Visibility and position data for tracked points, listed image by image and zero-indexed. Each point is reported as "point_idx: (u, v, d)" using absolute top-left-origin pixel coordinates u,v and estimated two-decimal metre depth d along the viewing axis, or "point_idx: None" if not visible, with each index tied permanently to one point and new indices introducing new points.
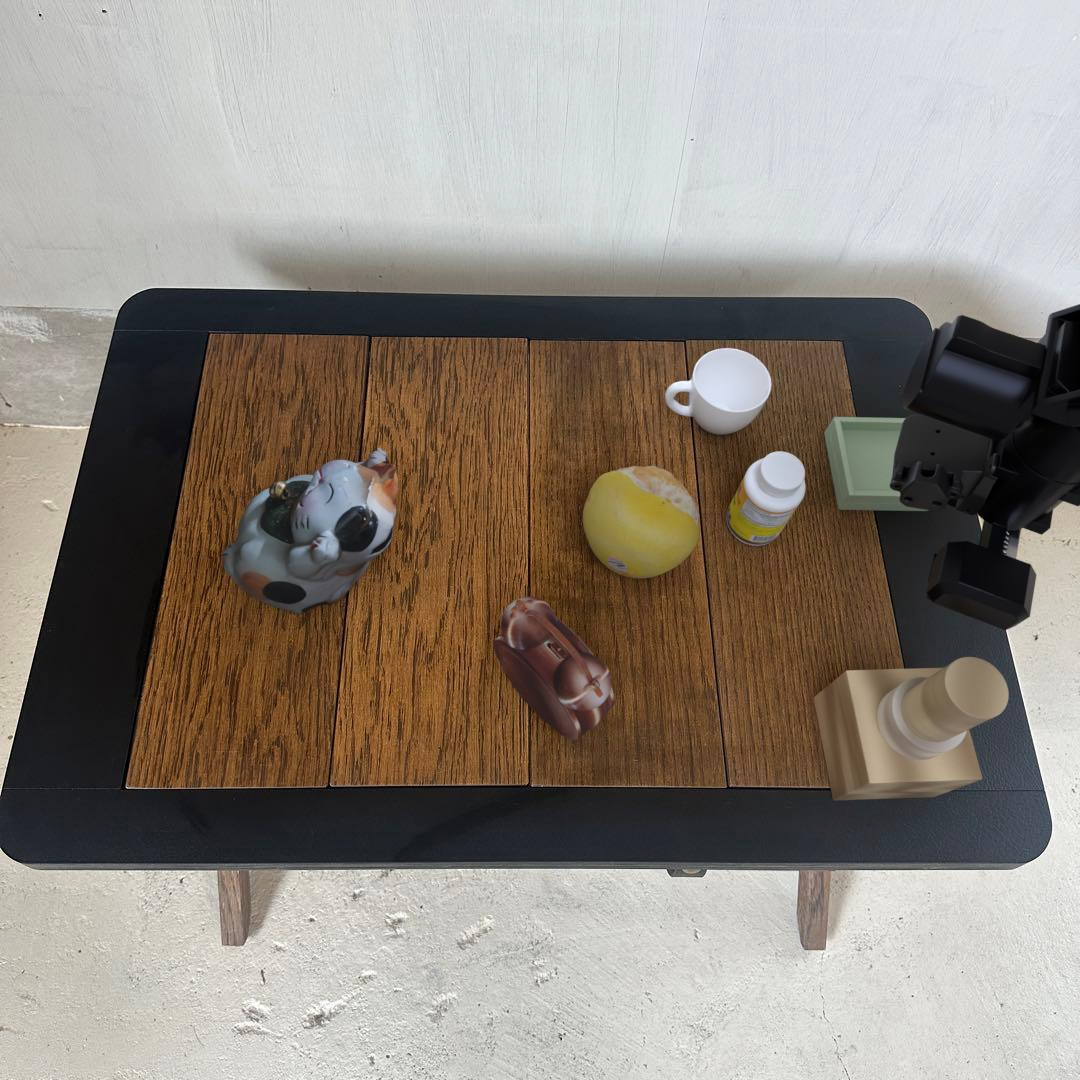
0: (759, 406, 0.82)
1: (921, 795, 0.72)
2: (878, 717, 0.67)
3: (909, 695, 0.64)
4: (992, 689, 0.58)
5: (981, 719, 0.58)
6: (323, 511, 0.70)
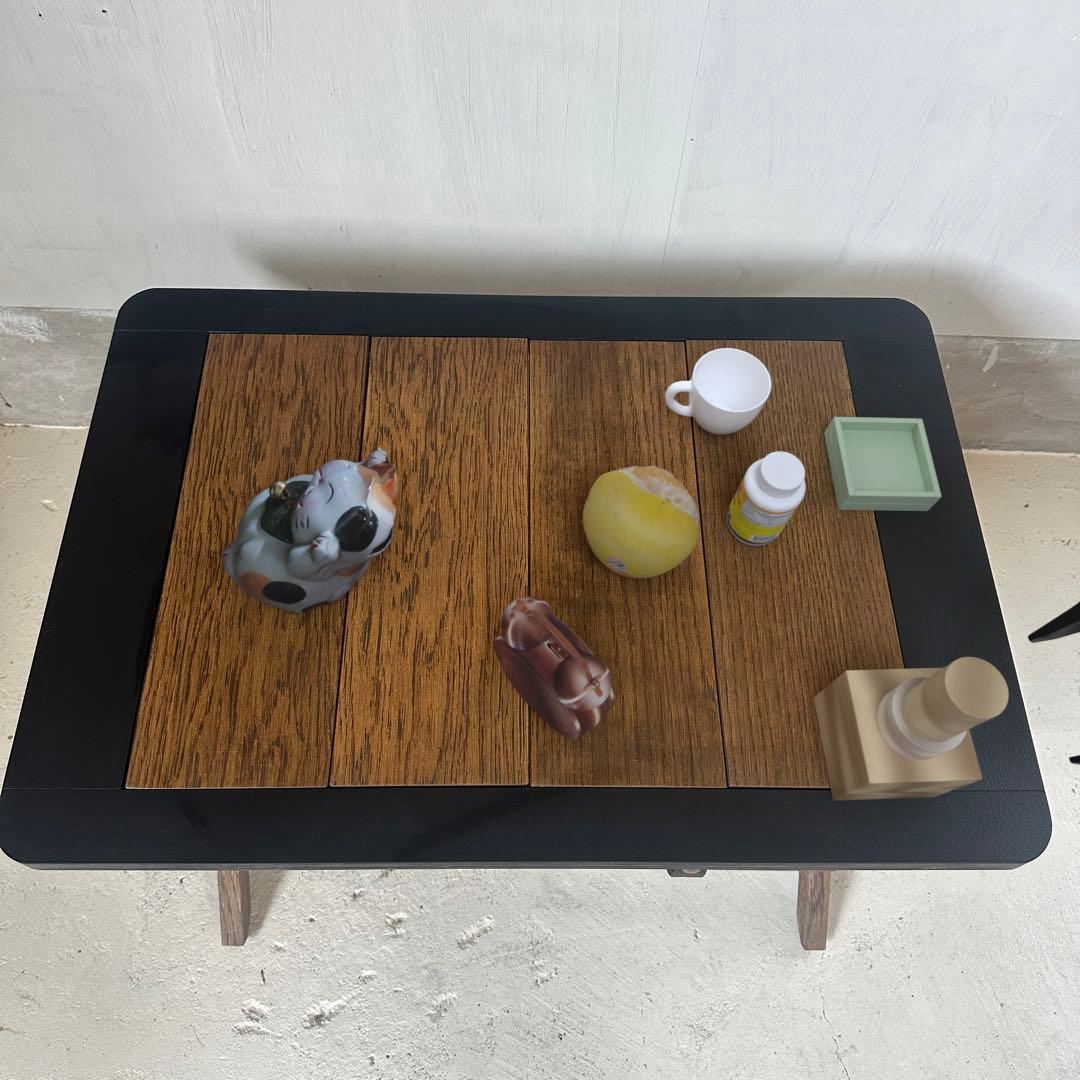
0: (759, 406, 0.82)
1: (921, 795, 0.72)
2: (878, 717, 0.67)
3: (909, 695, 0.64)
4: (992, 689, 0.58)
5: (981, 719, 0.58)
6: (322, 511, 0.70)
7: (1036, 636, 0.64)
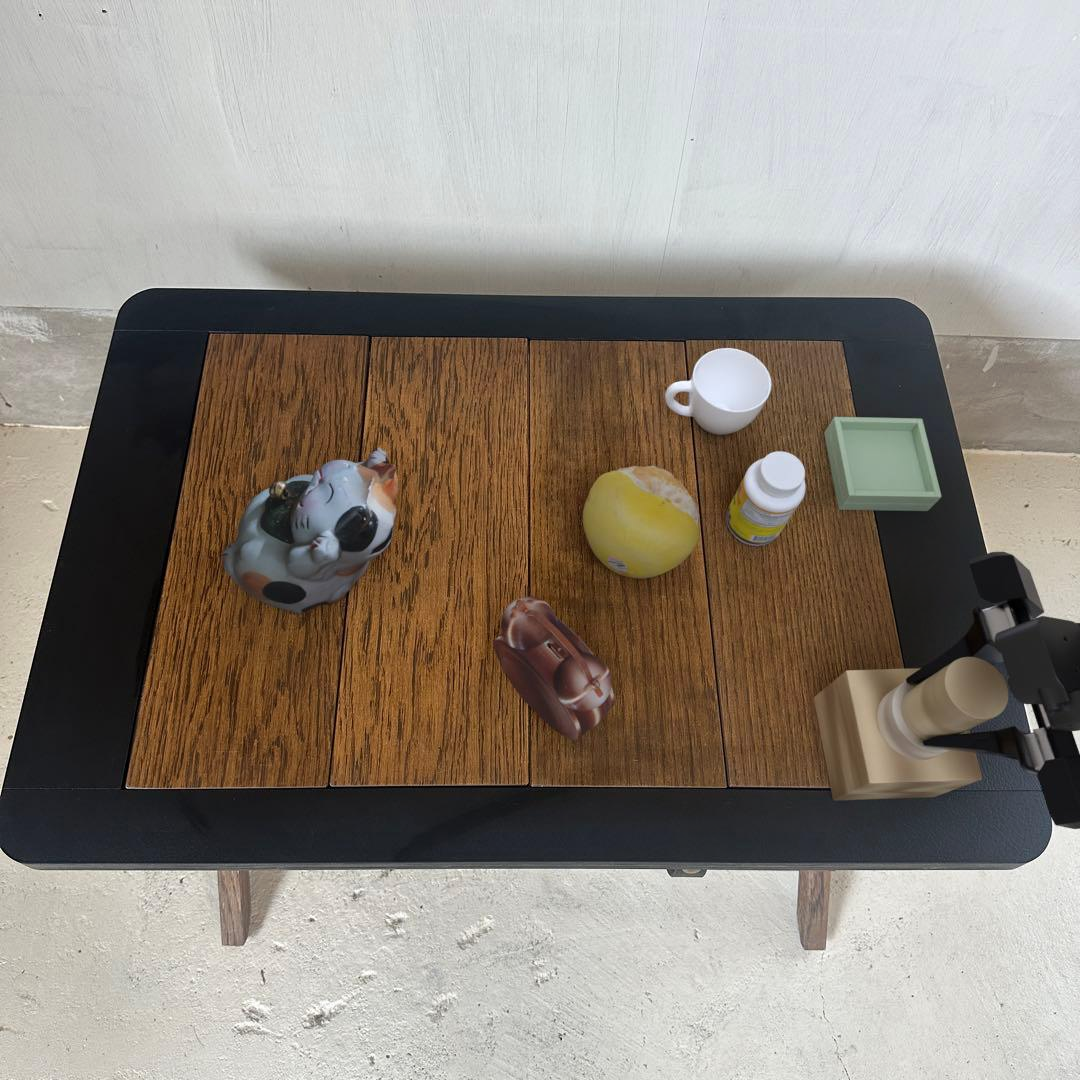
0: (759, 406, 0.82)
1: (921, 795, 0.72)
2: (878, 717, 0.67)
3: (909, 695, 0.64)
4: (992, 689, 0.58)
5: (981, 719, 0.58)
6: (322, 511, 0.70)
7: (913, 679, 0.64)
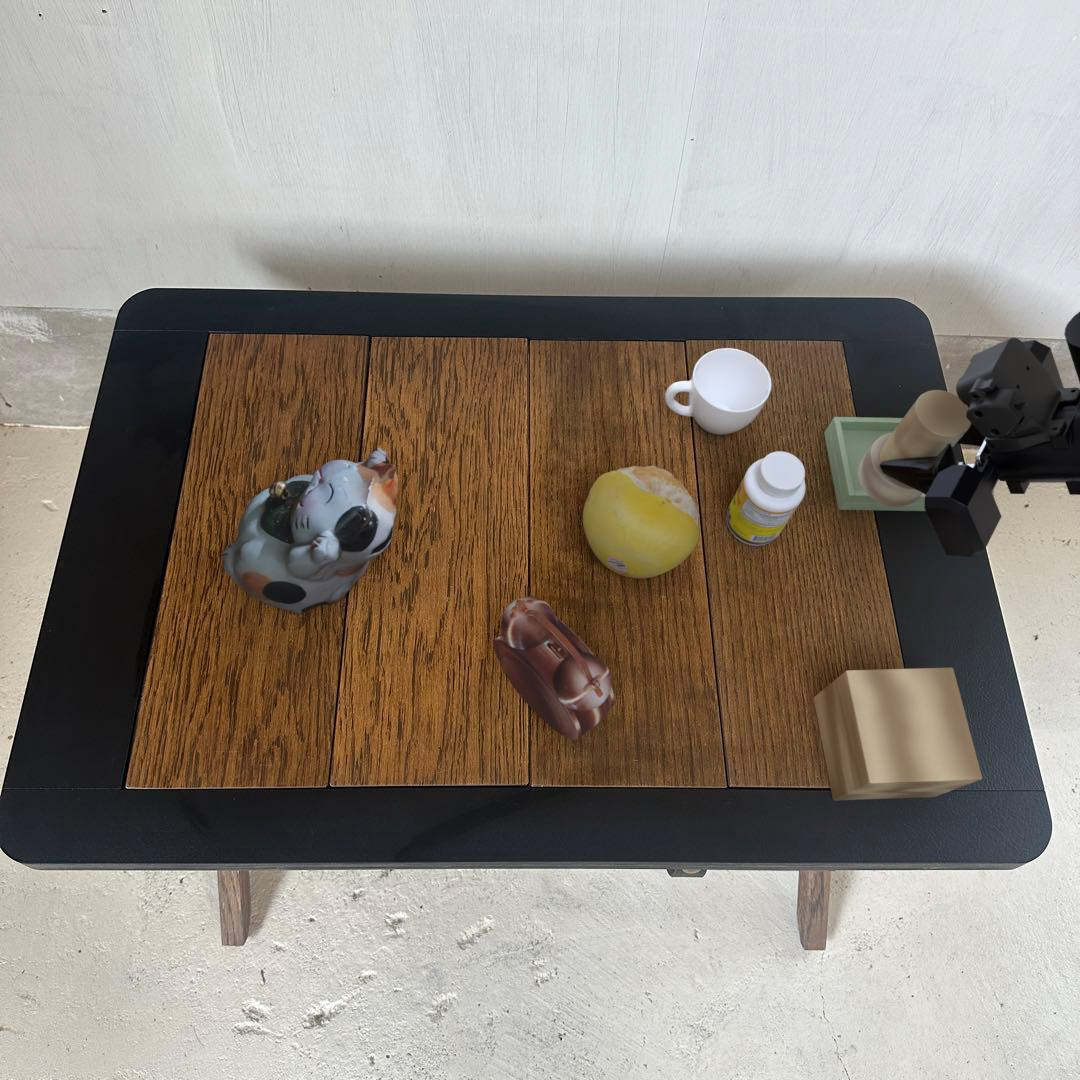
0: (759, 406, 0.82)
1: (921, 795, 0.72)
2: None
3: None
4: (955, 421, 0.66)
5: (928, 432, 0.65)
6: (322, 511, 0.70)
7: None
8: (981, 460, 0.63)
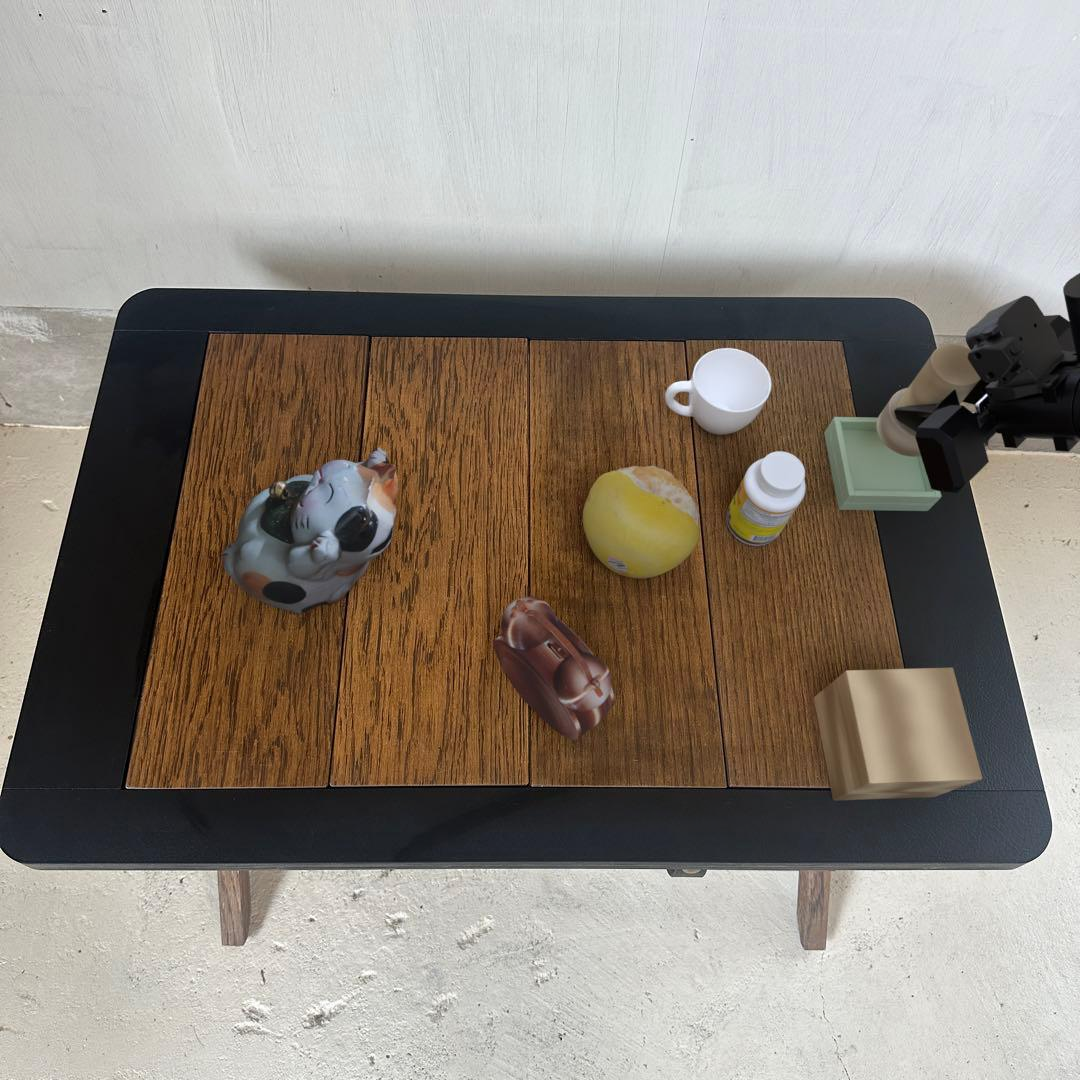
0: (759, 406, 0.82)
1: (921, 795, 0.72)
2: None
3: None
4: (966, 373, 0.71)
5: (939, 378, 0.71)
6: (322, 511, 0.70)
7: None
8: (980, 408, 0.69)
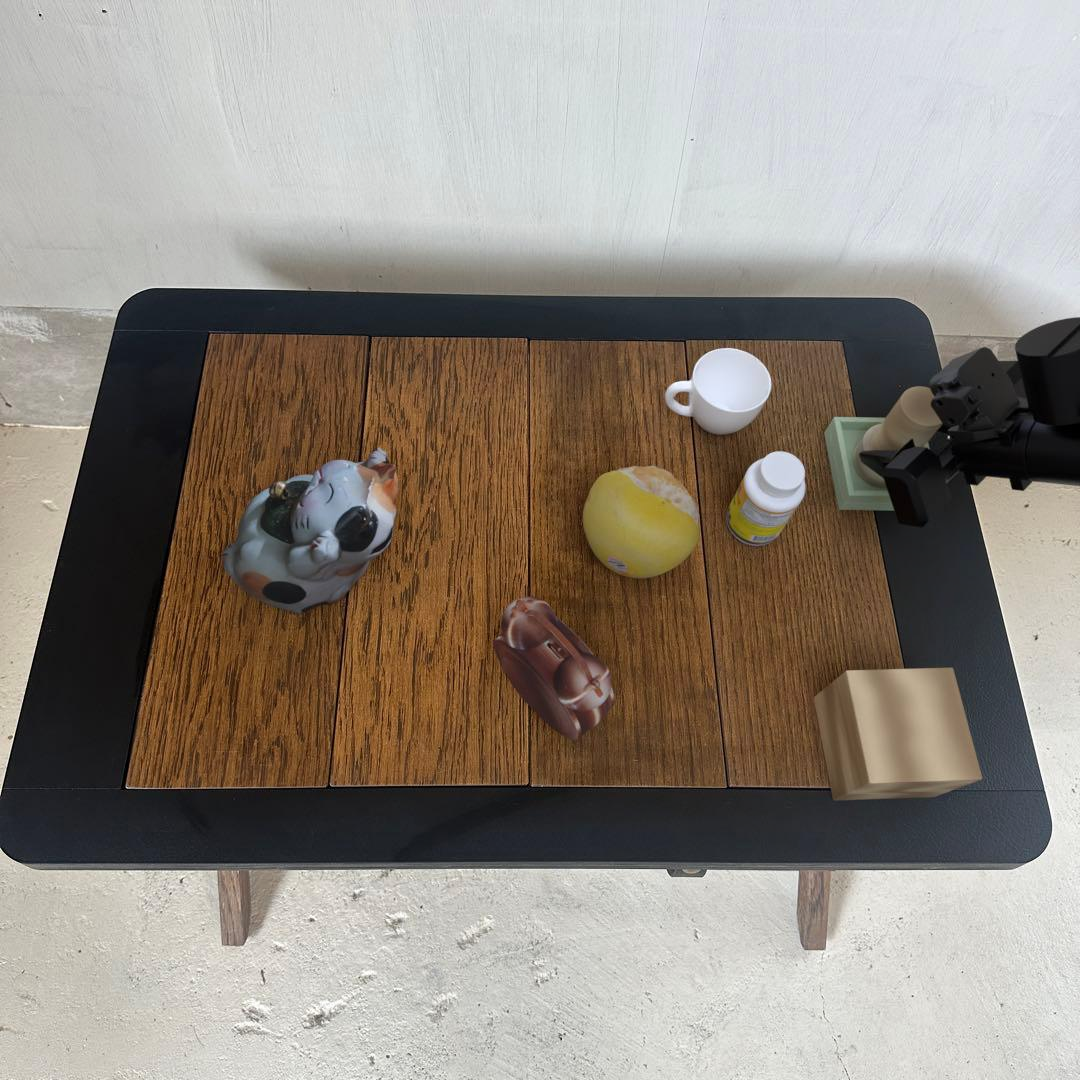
0: (759, 406, 0.82)
1: (921, 795, 0.72)
2: None
3: None
4: (932, 414, 0.76)
5: (907, 419, 0.76)
6: (323, 511, 0.70)
7: None
8: None
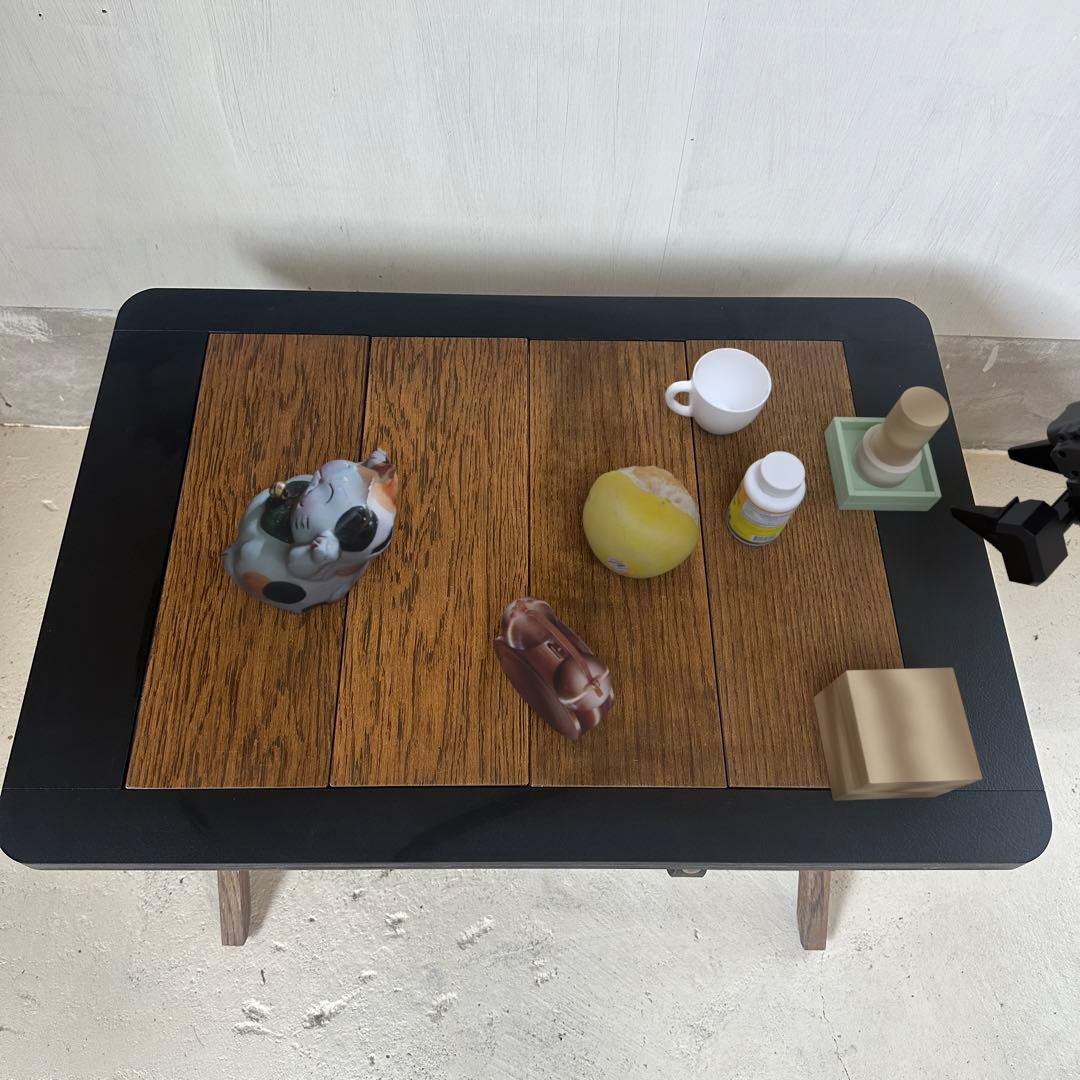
0: (759, 406, 0.82)
1: (921, 795, 0.72)
2: None
3: None
4: (932, 414, 0.76)
5: (907, 419, 0.76)
6: (322, 511, 0.70)
7: (1013, 448, 0.78)
8: None
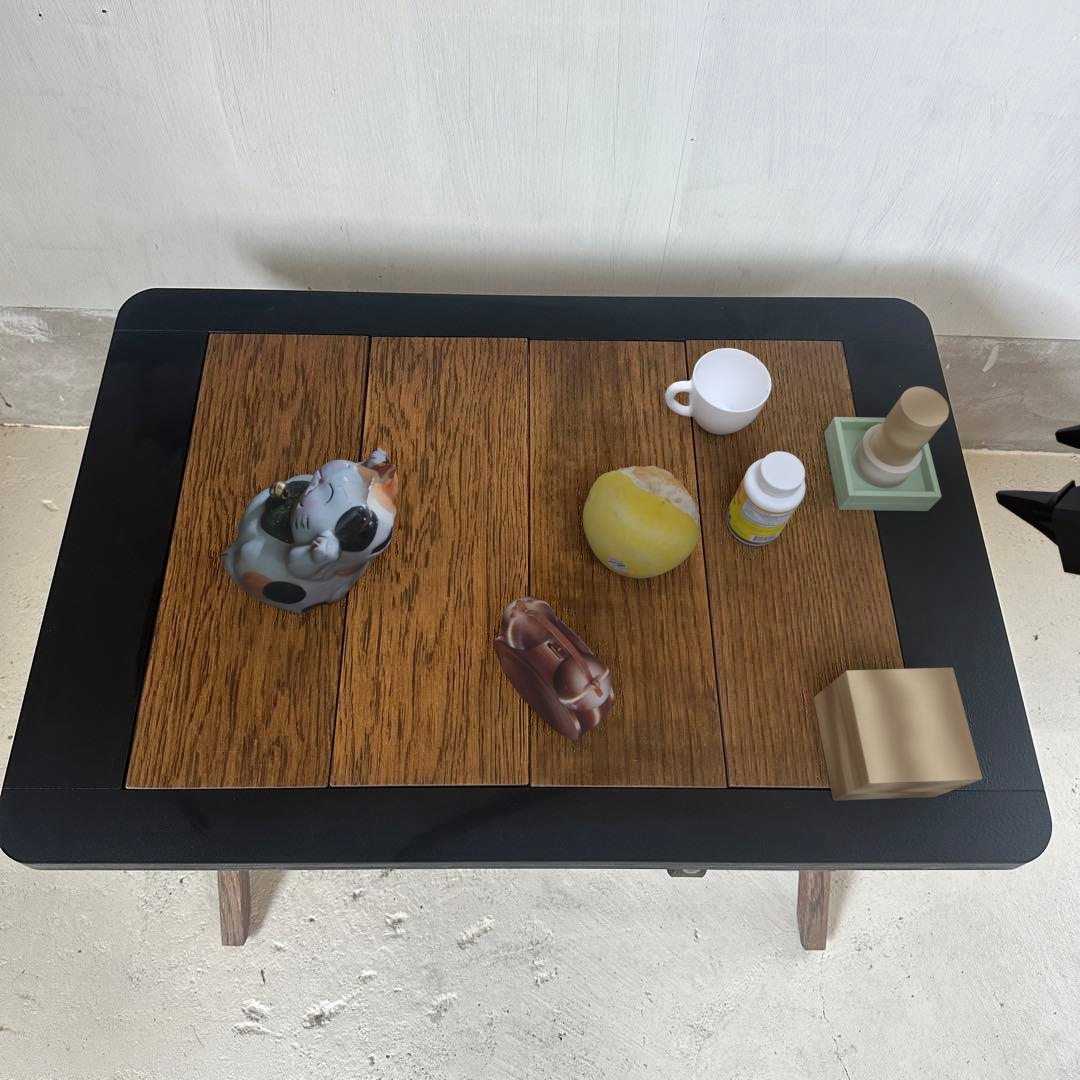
0: (759, 406, 0.82)
1: (921, 795, 0.72)
2: None
3: None
4: (932, 414, 0.76)
5: (907, 419, 0.76)
6: (323, 511, 0.70)
7: (1062, 430, 0.73)
8: None
